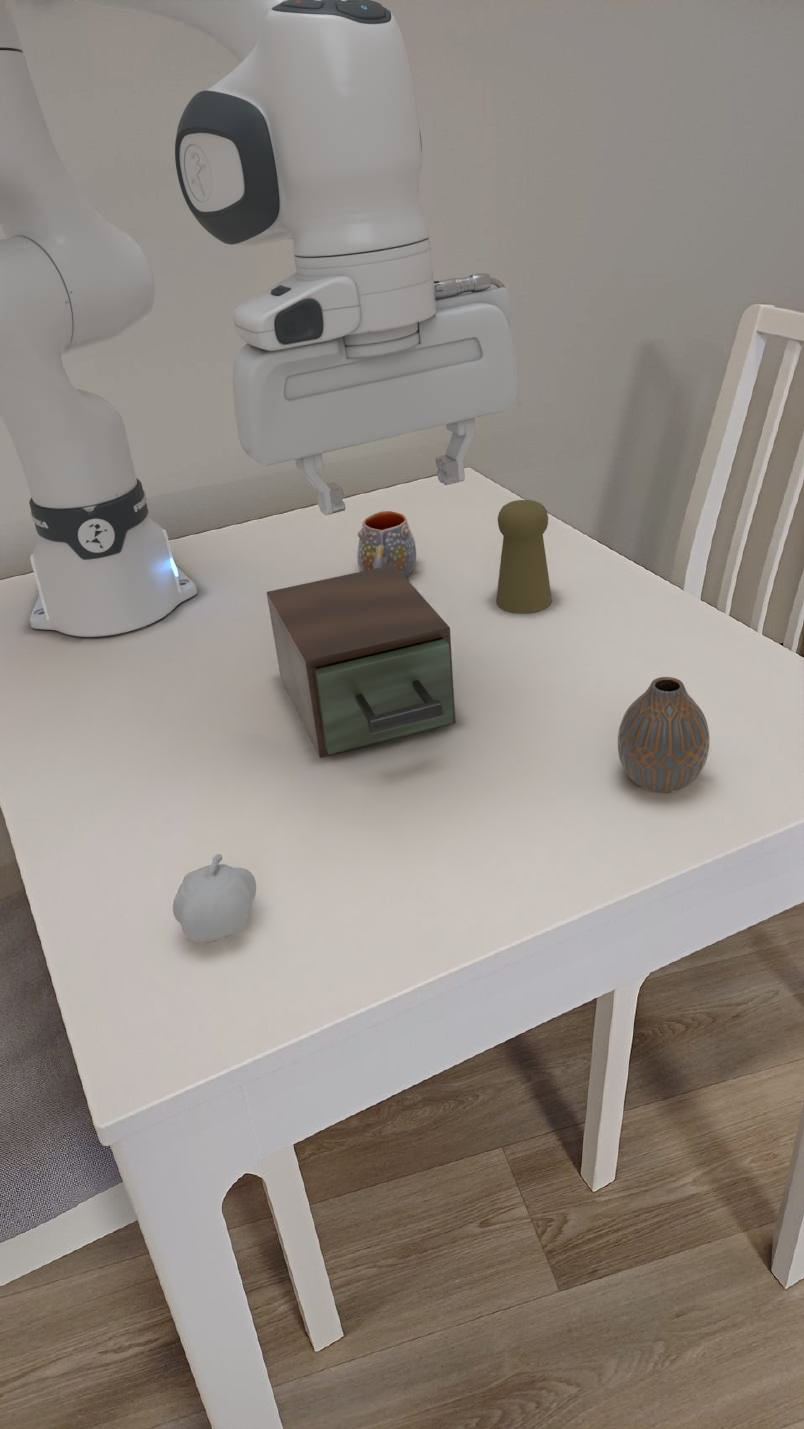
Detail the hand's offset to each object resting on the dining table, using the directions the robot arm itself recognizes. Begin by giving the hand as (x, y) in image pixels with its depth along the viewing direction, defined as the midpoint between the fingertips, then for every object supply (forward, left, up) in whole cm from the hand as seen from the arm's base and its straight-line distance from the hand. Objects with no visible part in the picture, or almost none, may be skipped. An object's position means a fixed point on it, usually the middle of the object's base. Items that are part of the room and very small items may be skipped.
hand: (393, 496), depth 72 cm
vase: (+12, +17, -23) cm, 31 cm away
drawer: (-6, -1, -22) cm, 23 cm away
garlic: (+14, -19, -23) cm, 33 cm away
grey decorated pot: (-34, +9, -23) cm, 42 cm away
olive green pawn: (-22, +21, -23) cm, 38 cm away
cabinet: (-10, -1, -23) cm, 25 cm away
